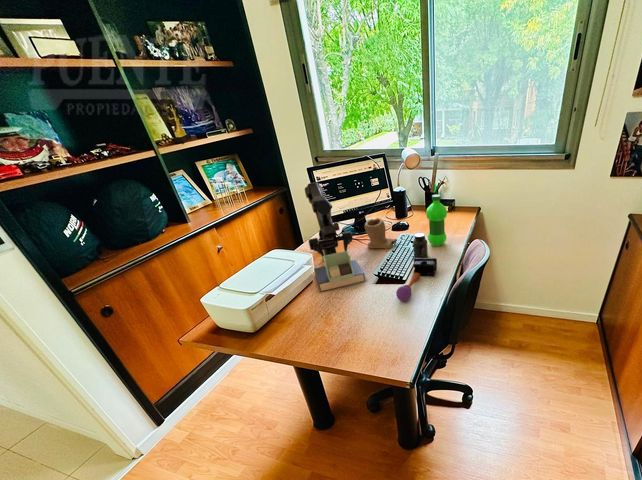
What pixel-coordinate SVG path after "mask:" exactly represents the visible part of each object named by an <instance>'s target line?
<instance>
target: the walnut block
mask: <svg viewBox="0 0 642 480" xmlns="http://www.w3.org/2000/svg"><path fill="white" fill-rule="evenodd" d="M339 270H340V274H341V276H343V275H347V274H351V270H350V266H349V264H348V263H346V264H341V265H339Z"/></svg>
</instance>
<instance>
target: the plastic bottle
mask: <svg viewBox="0 0 642 480" xmlns="http://www.w3.org/2000/svg"><path fill="white" fill-rule="evenodd" d="M441 198H442V197H441V194H432V195H431V201H432V203H431V204H429V206H428V207H427V208H426V211H425V212H426V218H427V219H428V226H429V232H428V234H427V241H428V242H429V244H431V245H432V246H434V247H440V246H442V245H443V244H444V243H446V241H447V234H446V232H445V231H446V230H445V220H446V218H447V216H448V211H447V208H446V206H445V205H444V204H442V203H441V202H440V201H441V200H442V199H441Z"/></svg>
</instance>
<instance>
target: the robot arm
mask: <svg viewBox="0 0 642 480" xmlns="http://www.w3.org/2000/svg"><path fill="white" fill-rule="evenodd" d="M304 194H305V197H306V199H308V202H309V203H310V205H311V209H312V212H313V213H314V214H315V216H316V220H317V223H318V226H319V230H318V237H319V238H318V237H315V238H309V239H308V245H309V249H310V250H311V251H314V252H317V253H318V255H320V257H321V258H322V259H323V256H325V255H330V254H334V253H338V252H337V250H336V248H338V246H339V242H341V241H342V242H343V243H342V244H343V250H344V251H348V246H349V245H350V244H351V243H352V242H353V237H354V236H353V233H352V232H351V231H350V230H349V231H348V230H347V231H344V232H341V235H338V234H337V232H338V231H340V225H339V222H333V219H332V209H333V205H332V203H330V201H329V200H328V199H327V197H325V196H324V190H323V187H322V185H321V184H319V182H309V183H308V184H307V186H305V187H304ZM337 235H338V236H337ZM344 251H343V252H344Z"/></svg>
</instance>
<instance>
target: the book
mask: <svg viewBox="0 0 642 480" xmlns="http://www.w3.org/2000/svg"><path fill="white" fill-rule="evenodd" d="M351 264H352V269H353V273H354V277H353V278H348V279H344V280H340V281H336V282H331V283H330V281H329V279H328V275H327V271H326V267H325V265H324V266H319V267H314V268H313V270H314V273H315V277H316V278H315V279H316V281H317V285H318V288H319V291H320V292H321V293H323V292H327V291H329V290H334V289H338V288H343V287H347V286H351V285H355V284H360V283H363V282H366V278H365V272H364V271H363V269H362V267H361V266H360V264H359V263H358V260H357V259H351Z"/></svg>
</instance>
